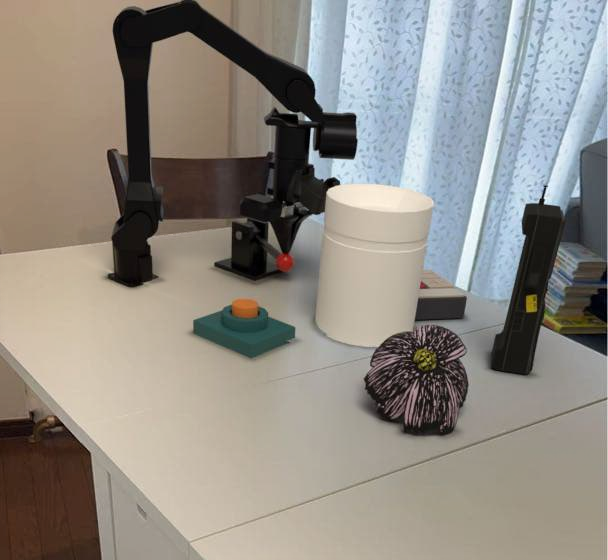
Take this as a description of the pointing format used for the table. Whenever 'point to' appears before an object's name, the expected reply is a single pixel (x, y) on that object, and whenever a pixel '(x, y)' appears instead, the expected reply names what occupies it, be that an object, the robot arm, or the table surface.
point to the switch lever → (272, 250)
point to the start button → (245, 308)
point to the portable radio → (529, 288)
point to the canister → (371, 262)
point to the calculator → (438, 298)
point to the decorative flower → (419, 379)
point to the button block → (244, 331)
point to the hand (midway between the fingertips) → (285, 253)
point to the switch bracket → (248, 252)
